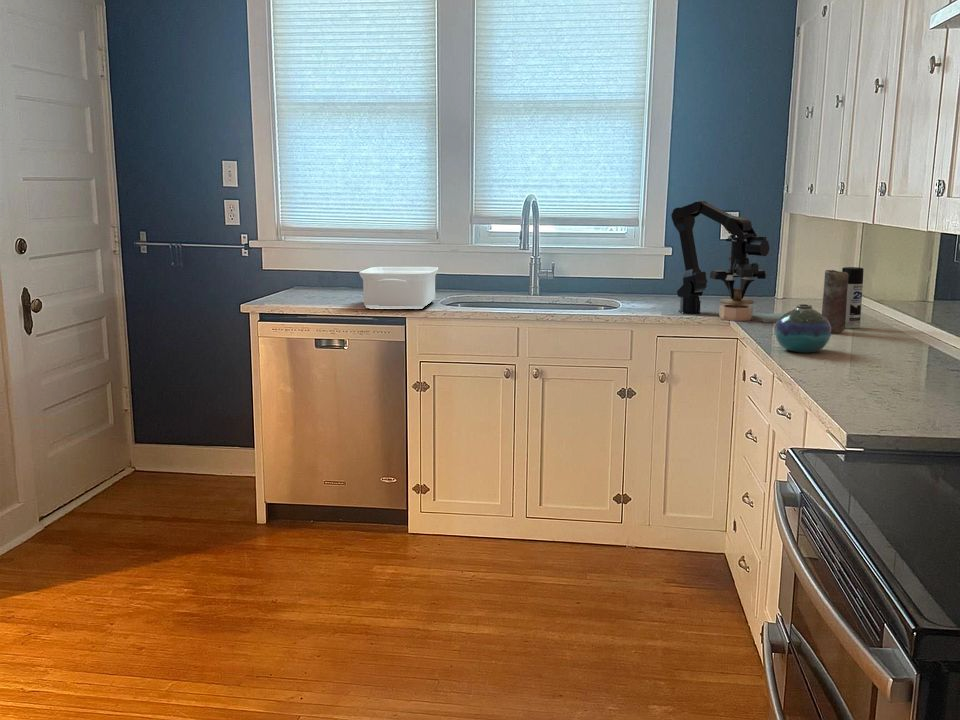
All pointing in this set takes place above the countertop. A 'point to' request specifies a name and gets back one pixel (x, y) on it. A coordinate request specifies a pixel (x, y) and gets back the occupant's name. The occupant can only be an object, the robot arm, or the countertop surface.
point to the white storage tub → (399, 286)
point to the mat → (767, 317)
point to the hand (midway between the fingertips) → (736, 298)
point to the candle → (835, 299)
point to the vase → (803, 330)
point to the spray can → (854, 297)
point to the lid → (737, 299)
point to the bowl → (735, 312)
